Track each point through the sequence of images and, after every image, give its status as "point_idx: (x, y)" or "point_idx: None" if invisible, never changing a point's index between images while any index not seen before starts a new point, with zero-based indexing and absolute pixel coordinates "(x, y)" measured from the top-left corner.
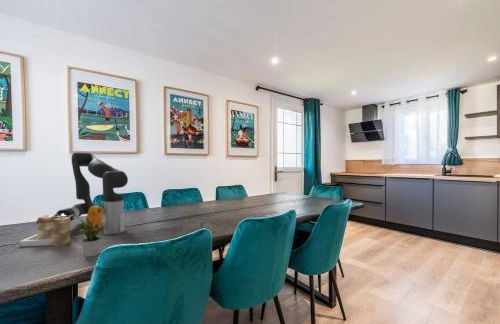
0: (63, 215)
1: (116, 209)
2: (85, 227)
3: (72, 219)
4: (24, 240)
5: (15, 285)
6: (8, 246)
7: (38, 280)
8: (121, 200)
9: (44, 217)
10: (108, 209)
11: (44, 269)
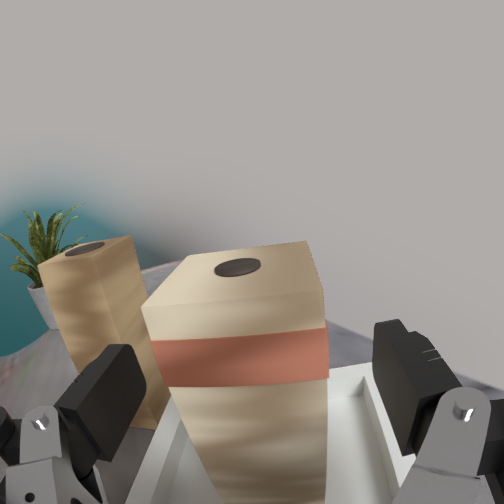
0: (29, 466)
1: None
2: (50, 242)
3: None
4: (362, 372)
5: (179, 262)
6: None
7: (152, 268)
8: None
9: (234, 250)
10: None
11: (152, 283)
